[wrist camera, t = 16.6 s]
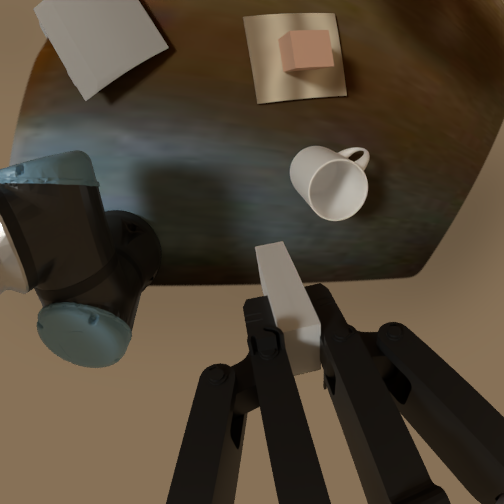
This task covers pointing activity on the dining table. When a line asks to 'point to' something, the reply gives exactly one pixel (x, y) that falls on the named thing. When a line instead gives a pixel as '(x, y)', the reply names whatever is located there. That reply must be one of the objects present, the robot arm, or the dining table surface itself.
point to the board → (270, 64)
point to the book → (99, 38)
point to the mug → (330, 181)
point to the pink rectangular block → (306, 50)
